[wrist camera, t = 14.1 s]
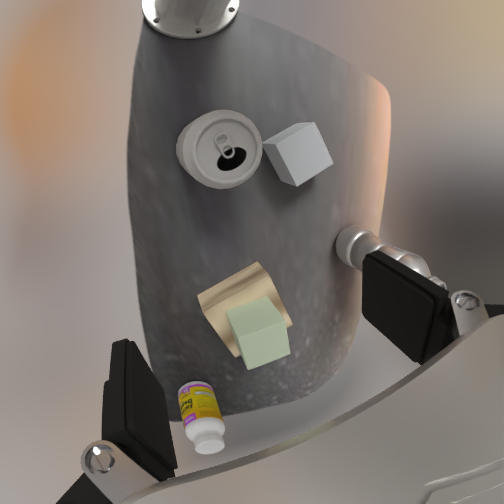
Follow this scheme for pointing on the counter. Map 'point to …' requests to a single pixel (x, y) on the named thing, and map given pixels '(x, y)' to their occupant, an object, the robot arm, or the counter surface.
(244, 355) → the sage-green block
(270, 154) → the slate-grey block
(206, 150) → the can
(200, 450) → the supplement bottle
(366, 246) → the plastic bottle
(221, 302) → the beech block
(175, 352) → the counter surface
